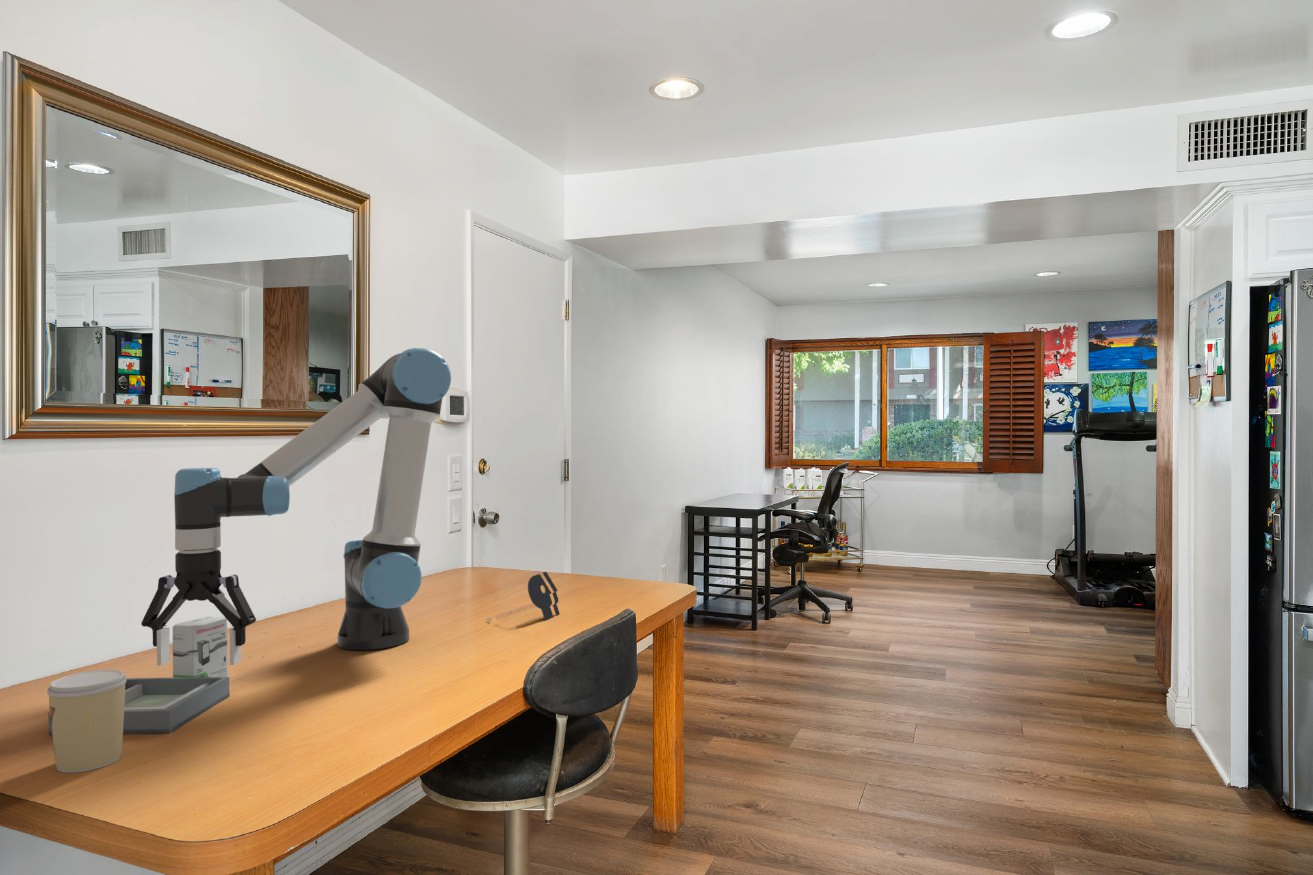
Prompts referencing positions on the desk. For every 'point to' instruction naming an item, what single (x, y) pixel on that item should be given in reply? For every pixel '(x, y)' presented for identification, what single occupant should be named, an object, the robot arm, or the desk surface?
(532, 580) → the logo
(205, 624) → the ink box
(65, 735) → the coffee cup
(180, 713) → the walled tray
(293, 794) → the desk surface
